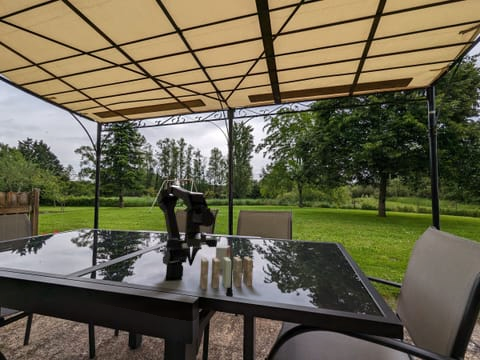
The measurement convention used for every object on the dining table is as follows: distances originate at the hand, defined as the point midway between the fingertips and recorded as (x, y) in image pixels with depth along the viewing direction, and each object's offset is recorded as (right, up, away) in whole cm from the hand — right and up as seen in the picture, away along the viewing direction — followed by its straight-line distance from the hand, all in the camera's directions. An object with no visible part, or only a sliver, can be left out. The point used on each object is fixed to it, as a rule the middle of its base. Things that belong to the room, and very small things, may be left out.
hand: (190, 265), depth 88 cm
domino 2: (+9, -9, +2) cm, 13 cm away
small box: (+10, -12, +27) cm, 31 cm away
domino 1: (+5, -8, +1) cm, 10 cm away
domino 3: (+13, -9, +3) cm, 16 cm away
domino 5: (+22, -10, +6) cm, 25 cm away
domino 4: (+18, -9, +5) cm, 21 cm away
